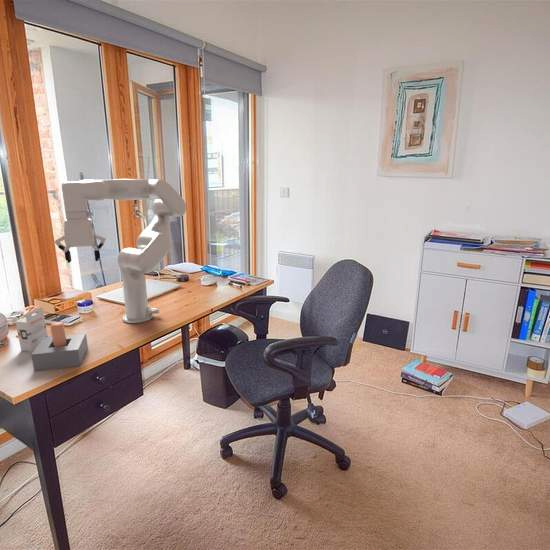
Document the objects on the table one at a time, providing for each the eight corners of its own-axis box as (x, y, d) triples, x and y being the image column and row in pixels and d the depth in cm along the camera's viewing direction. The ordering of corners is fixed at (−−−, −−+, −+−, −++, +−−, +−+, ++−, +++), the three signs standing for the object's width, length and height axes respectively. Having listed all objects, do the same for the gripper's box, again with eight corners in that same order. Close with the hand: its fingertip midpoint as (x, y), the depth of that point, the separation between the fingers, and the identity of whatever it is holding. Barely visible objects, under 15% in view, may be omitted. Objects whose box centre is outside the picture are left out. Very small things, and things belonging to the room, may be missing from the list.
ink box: (37, 341, 151) (31, 305, 148) (49, 342, 151) (43, 305, 147) (20, 351, 143) (13, 313, 139) (32, 352, 143) (25, 314, 139)
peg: (70, 355, 140) (64, 321, 136) (67, 360, 136) (62, 325, 133) (57, 356, 139) (52, 322, 135) (54, 362, 135) (48, 327, 132)
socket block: (88, 347, 146) (85, 332, 144) (80, 365, 133) (77, 349, 131) (46, 352, 142) (43, 337, 141) (34, 371, 129) (31, 354, 128)
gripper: (104, 214, 150) (109, 257, 155) (54, 215, 146) (60, 260, 150) (101, 216, 143) (106, 262, 148) (48, 218, 139) (55, 265, 143)
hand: (83, 261), depth 149 cm, fingers open, 9 cm apart
